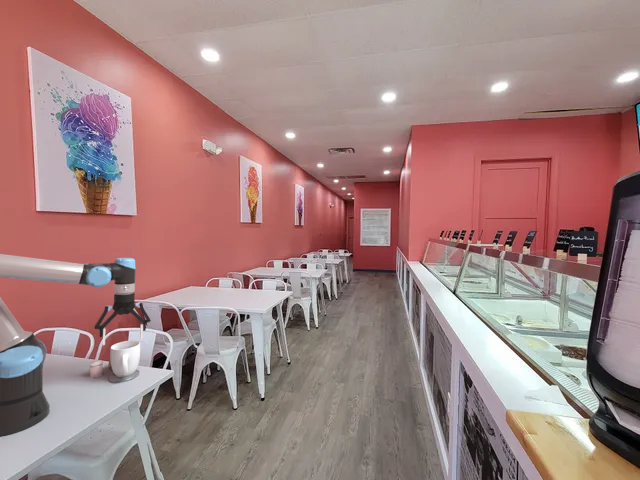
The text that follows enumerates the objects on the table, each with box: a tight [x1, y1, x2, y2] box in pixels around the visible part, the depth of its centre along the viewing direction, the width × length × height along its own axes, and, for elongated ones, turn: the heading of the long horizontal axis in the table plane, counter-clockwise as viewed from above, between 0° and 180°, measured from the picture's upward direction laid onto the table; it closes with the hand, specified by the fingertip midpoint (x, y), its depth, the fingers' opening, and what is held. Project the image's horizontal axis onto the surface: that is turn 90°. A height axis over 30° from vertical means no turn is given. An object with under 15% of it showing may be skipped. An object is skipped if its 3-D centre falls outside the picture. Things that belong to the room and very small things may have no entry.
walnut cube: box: [108, 359, 113, 372], centre depth 133 cm, size 4×4×4 cm
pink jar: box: [89, 359, 104, 379], centre depth 126 cm, size 5×5×6 cm
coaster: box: [108, 369, 140, 384], centre depth 125 cm, size 11×11×1 cm
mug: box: [109, 340, 141, 377], centre depth 125 cm, size 15×11×13 cm
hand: (123, 341), depth 125 cm, fingers open, 13 cm apart
